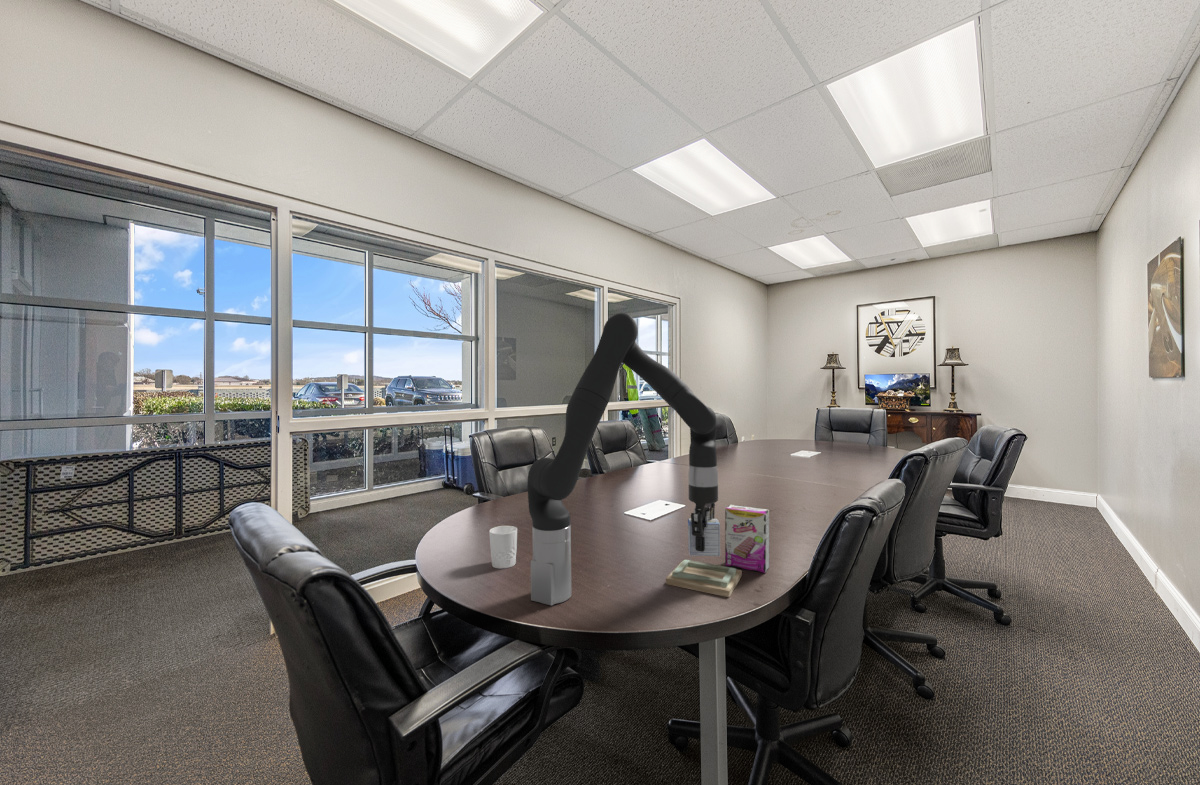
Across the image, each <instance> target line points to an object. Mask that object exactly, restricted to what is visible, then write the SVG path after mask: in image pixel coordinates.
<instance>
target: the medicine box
mask: <svg viewBox="0 0 1200 785" xmlns="http://www.w3.org/2000/svg"><path fill="white" fill-rule="evenodd" d="M702 524H704V523H702ZM698 531H699V528H698ZM687 537H688V538H687V540H688V541H687V542H688V544H687V548H688V554H689V556H691V557H692V556H693V557H694V556H695V557H696V556H697V557H698V556H699V557H721V524H720V522H719V519H717V518H714V519H712V520H711V519H709V520H708V527H707V528H706V529H705V550H704V551H703V552H701V551H697V550H696V536H693V535H692V524H691V517H690V518H687Z"/></svg>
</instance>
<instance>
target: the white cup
mask: <svg viewBox="0 0 1200 785" xmlns="http://www.w3.org/2000/svg"><path fill="white" fill-rule="evenodd" d="M488 533H489V534H488V535H489V548H490V549H489V550H490V557H491V558H490V559H491V566H492V567H493V568H495V569H500V570H501V569H502V570H503V569H509V568H512V567H514V566H515V564H517V559H516V558H517V546H518V527H517V526H512V525H499V526H495V527H492V528H490V529H489V532H488Z"/></svg>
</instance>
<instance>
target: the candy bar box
mask: <svg viewBox="0 0 1200 785" xmlns="http://www.w3.org/2000/svg"><path fill="white" fill-rule="evenodd" d="M724 510H725V515H724V517H725V519H724V520H725V521H724V523H725V527H724V529H725V532H724V533H725V534H724V535H725V536H724V539H725V540H724V541H725V546H724V547H725V549H724V550H725V551H724V558H725V559H724V561H725V562H724V565H725V566H726V567H731V568H736V569H737V568H738V569H741V570H742V569H744V570H749V571H753V572H758V573H764V574H766V572H767V571H768V570H769V568H770V510H769V509H765V508H758V507H751V506H744V505H743V506H742V505H736V504H729V505H727V507H725V508H724Z"/></svg>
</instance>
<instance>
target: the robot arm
mask: <svg viewBox="0 0 1200 785" xmlns="http://www.w3.org/2000/svg"><path fill="white" fill-rule="evenodd" d="M638 328H639V327H638V325H637V322H636V320H635V319H634V317H632V316H631V315H630V314H628V313H623V312H622V313H616V314H614V315H612V316H610V317H609V318H608V320H607V321H606V322H605V324H604V326H603V329H602V333H601V335H600V339H599V342H598V345H597V347H596V349H595V351H594V354H593V356H592V358H591V360H590V362H589V363H588V365H587V366H586V368H585V369H584V372H583V373H582V375H581V377H580V378H579V381H578V383H577V384H576V387H575V388H574V390H573V392H572V395H571V396H570V399H569V401H568V403H567V406H566V411H565V428H564V431H565V432H564V437H563V440H562V443H561V445H560V447H559V450H558V452H557V454H556V455H555V456H554V458H551V457H542V458H538V459H537V460H535V461H534V462H532V465H531V466H530V468H529V471H528V473H527V500H528V501H527V503H528V510H529V511H528V512H529V515H530V517H531V521H532V523H531V524H532V528H531V529H532V559H531V560H530V601H533V602H537V603H539V604H543V605H548V606H554V605H555V604H561V603H563V602H566V601H568V600H569V599H570V598H571V597H572V552H571V550H572V542H571V539H572V538H571V536H572V535H571V532H572V531H571V514H570V511H569V510H568V509H567V508H566V506H565V505H564V503H563V500H564V499H566V498H567V497H569V496H570V494H571V493H572V492H573V491H574V489H575V486H576V485H577V482H578V479H579V476H580V474H581V471H582V468H583V465H584V461H585V458H586V455H587V453H588V449H589V448H590V445H591V443H592V440H593V437H594V435H595V433H596V431H597V428H598V426H599V424H600V422H601V420H602V418H603V415H604V413H605V411H606V409H607V406H608V404H609V401H610V399H611V396H612V393H613V391H614V388H615V384H616V381H617V377H618V375H619V374H618V373H619V370H620V368H621V365H622V364H624V365H625V366H626V367H627V368H629V369H630V370H631V371H632V372H634V373H635V374H637V376H639V377H640V378H641V379H642V380H643V381H644V382H646V383H647V385H649V386H650V387H651V389H652V390H654V392H656V394H658V396H660V398H661V399H662V400H664V402H665V403H666V404H667V405H669V406H670V407H671V408H672V409H673V410H674V411H675V413H677V415H678V416H679V417H680V418H681V420H682V421H683V422H684V423H685V424H686V426H688V427H689V435H690V436H689V437H690V445H689V450H688V461H689V462H688V463H689V464H688V475H687V476H688V481H687V483H688V500H689V501H690V502H692V503H694V504H695V506H694V508H693V512H691V514H690V518H691V524H692V535H693V536H696V550H697V551H701V552H703V551H704V550H705V529H706V528H707V527H708V520H709V519H711V520H712V519H715V510H716V509H715V508H716V507H715V506H716V504H715V503H717V502H718V501H719V475H718V474H719V473H718V461H717V460H718V459H717V458H718V454H717V446H716V441H717V439H716V438H717V415H716V413H715V411H714V410H713V409H712V408H711V407H710V406H707V405H706V404H705V403H704V402H703V401H702V400H701V399H700V398H699V397H698V396H697V395H696V394H694V392H693V390H692V389H691V388H690V387H689V386H688V385H687V384H686V382H684V380H682V378H680V377H679V376H678V375H677V373H675V372H674V371H673V370H671V369H670V368H669V367H666V366H665V365H663V364H662V363H660V362H658V361H657V360H655V359H653V358H652V357H651V356H649V355H648V354H647V353H646V352H645V351H644V350H643V349H642V348H641V347H640V346H639V344H638V343H637V339H638V336H639V335H638V334H639V333H638V332H639V331H638ZM702 523H704V524H702ZM698 528H699V531H698Z"/></svg>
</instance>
